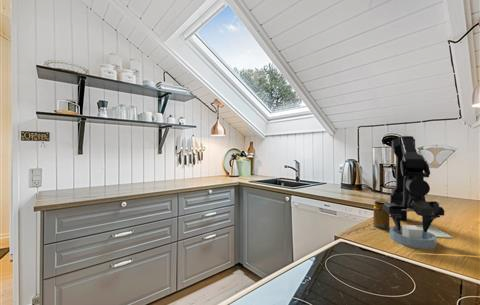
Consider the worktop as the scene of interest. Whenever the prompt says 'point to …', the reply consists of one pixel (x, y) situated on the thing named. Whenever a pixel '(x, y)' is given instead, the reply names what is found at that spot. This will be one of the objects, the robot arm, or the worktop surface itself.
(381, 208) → the condiment
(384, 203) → the robot arm
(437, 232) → the tray
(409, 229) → the white matte cube
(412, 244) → the bowl
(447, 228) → the worktop surface
